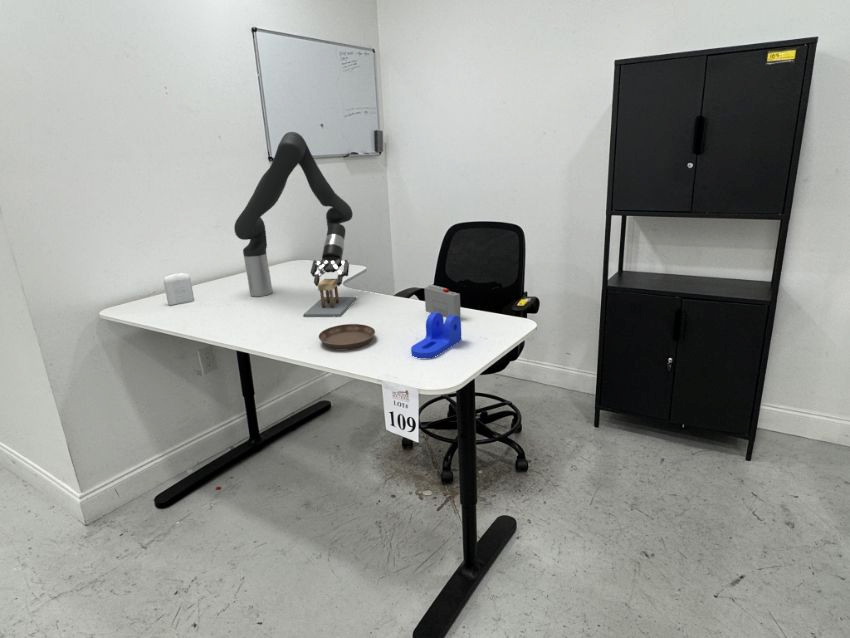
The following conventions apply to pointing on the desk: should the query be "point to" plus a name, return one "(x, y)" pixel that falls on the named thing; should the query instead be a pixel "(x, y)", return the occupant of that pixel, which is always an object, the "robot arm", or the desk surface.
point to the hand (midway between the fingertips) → (327, 285)
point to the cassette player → (442, 301)
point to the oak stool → (328, 291)
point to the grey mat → (328, 311)
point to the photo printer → (178, 288)
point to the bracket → (438, 336)
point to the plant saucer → (347, 336)
